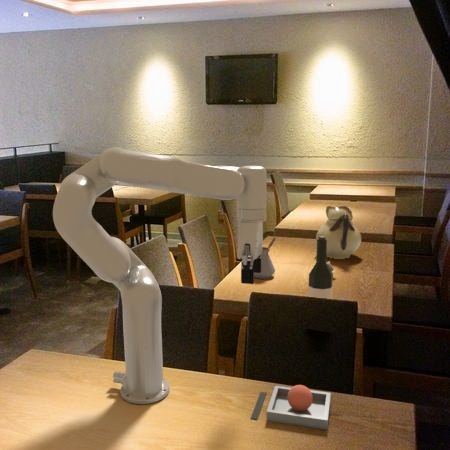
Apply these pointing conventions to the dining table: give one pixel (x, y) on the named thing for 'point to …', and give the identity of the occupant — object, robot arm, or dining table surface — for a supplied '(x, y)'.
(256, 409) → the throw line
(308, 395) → the ball
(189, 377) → the dining table surface
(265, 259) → the coffee pot
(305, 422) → the tray
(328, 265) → the architectural model
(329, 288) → the wine bottle
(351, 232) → the white drawstring sack
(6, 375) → the dining table surface
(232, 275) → the dining table surface
